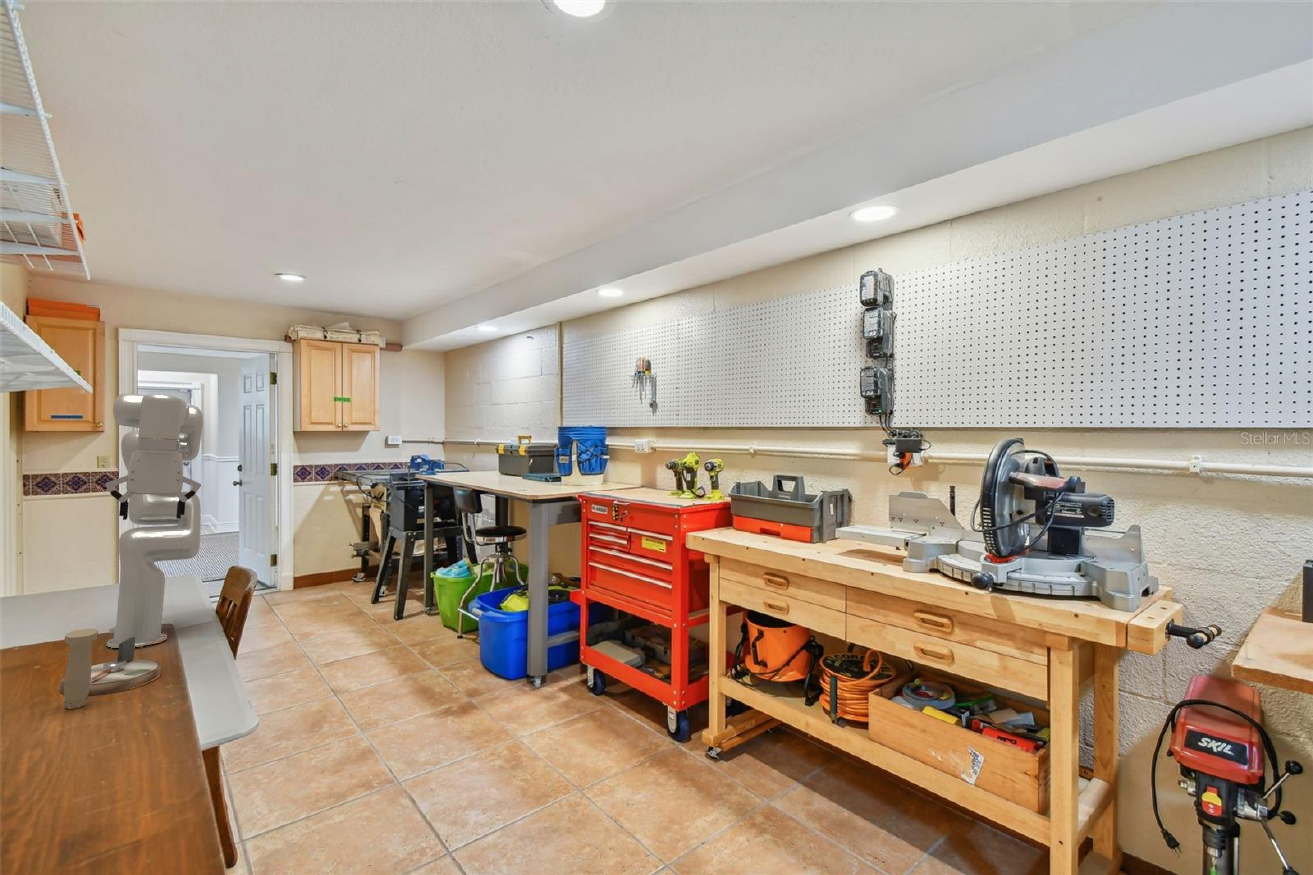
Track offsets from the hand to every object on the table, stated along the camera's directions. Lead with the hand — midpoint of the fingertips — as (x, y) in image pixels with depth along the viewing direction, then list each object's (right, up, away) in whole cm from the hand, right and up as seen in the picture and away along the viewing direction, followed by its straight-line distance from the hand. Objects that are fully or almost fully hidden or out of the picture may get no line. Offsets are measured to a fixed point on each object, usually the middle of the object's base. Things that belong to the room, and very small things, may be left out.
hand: (152, 518), depth 139 cm
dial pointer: (-5, -34, -4) cm, 35 cm away
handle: (0, -37, -18) cm, 41 cm away
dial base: (-5, -37, -5) cm, 37 cm away
